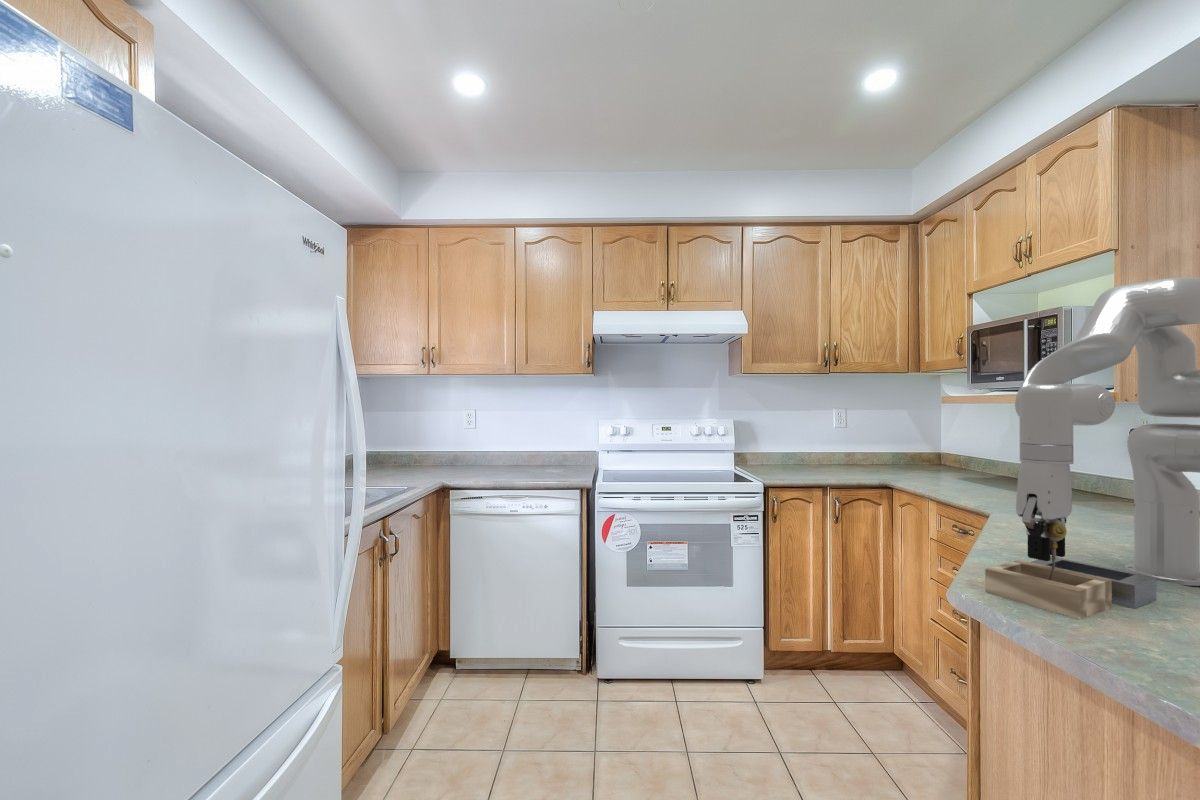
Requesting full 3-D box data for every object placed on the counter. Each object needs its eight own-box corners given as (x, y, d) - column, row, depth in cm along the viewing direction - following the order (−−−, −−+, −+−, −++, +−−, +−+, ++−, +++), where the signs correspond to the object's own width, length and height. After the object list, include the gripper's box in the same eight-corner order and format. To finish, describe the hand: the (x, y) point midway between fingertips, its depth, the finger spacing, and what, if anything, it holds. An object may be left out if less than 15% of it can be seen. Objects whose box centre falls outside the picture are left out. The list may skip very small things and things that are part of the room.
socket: (1019, 585, 109) (1018, 559, 109) (1111, 608, 97) (1111, 579, 97) (985, 596, 103) (985, 568, 103) (1079, 622, 91) (1079, 591, 91)
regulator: (1072, 591, 96) (1073, 502, 96) (1046, 589, 97) (1047, 501, 97) (1046, 578, 104) (1048, 496, 104) (1022, 576, 104) (1023, 495, 105)
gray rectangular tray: (1050, 575, 116) (1050, 556, 116) (1156, 599, 102) (1156, 577, 102) (1027, 583, 111) (1027, 562, 111) (1134, 609, 97) (1134, 585, 97)
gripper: (1044, 450, 108) (1044, 546, 108) (997, 454, 100) (997, 558, 99) (1093, 453, 101) (1094, 555, 101) (1047, 458, 93) (1048, 569, 93)
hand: (1046, 556), depth 100 cm, fingers closed on regulator, 4 cm apart
